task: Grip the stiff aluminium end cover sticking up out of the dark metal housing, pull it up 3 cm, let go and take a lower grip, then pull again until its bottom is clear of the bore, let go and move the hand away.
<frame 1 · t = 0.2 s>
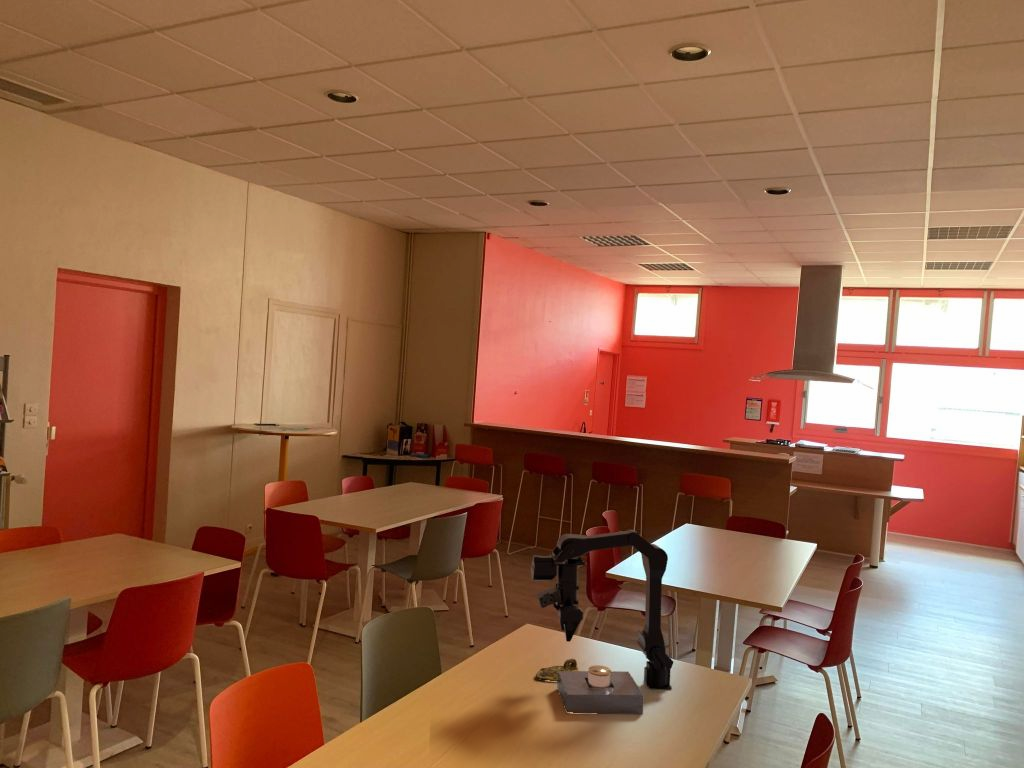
hand: (565, 635, 212), 14 cm above the table, tool pointing down, fingers open, 9 cm apart
housing: (598, 701, 202), on the table
end cover: (599, 684, 202), point 4 cm above the table, slide at 0.0 cm
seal: (557, 677, 219), on the table
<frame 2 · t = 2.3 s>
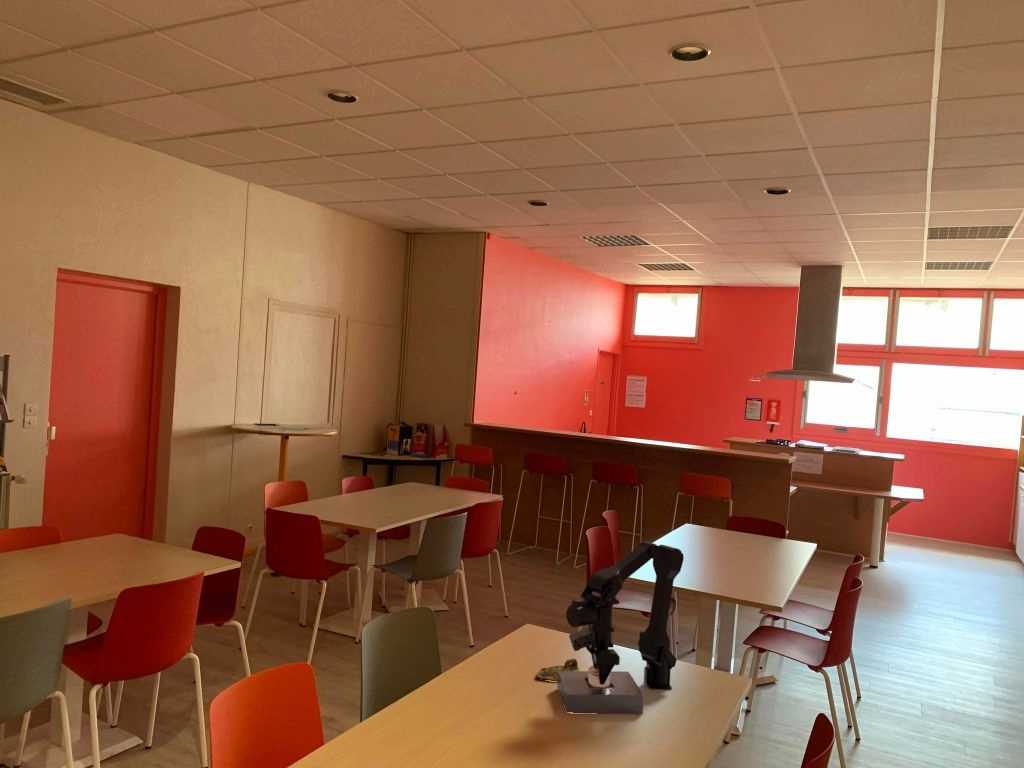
hand: (599, 679, 202), 6 cm above the table, tool pointing down, fingers closed on end cover, 6 cm apart
end cover: (599, 684, 202), point 4 cm above the table, slide at 0.0 cm, touching gripper
everything else where it was.
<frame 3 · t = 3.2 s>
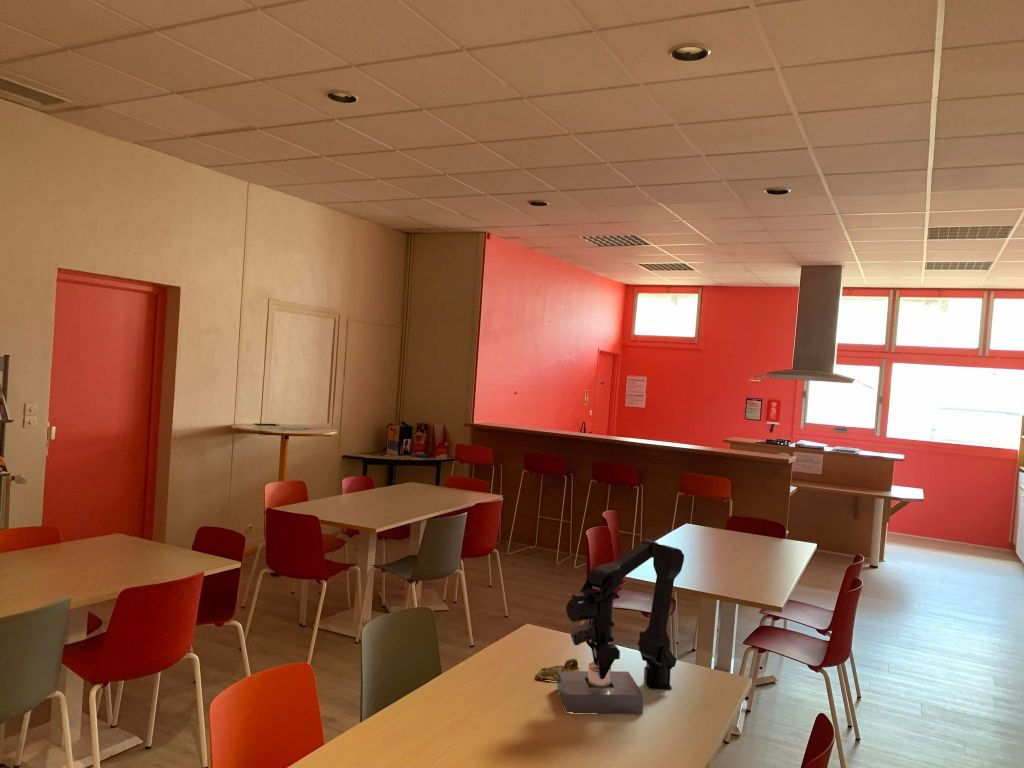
hand: (599, 674, 202), 7 cm above the table, tool pointing down, fingers closed on end cover, 6 cm apart
end cover: (599, 680, 202), point 5 cm above the table, slide at 1.1 cm, touching gripper
everything else where it was.
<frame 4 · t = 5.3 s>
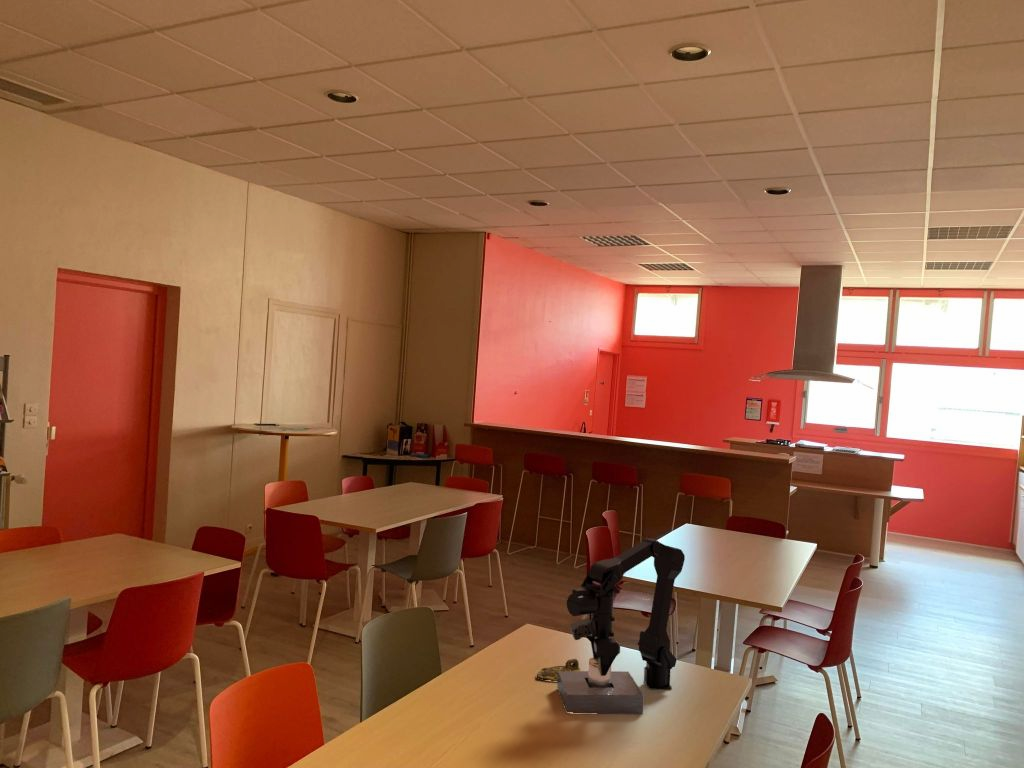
hand: (599, 668, 202), 9 cm above the table, tool pointing down, fingers open, 9 cm apart
end cover: (599, 676, 202), point 7 cm above the table, slide at 2.3 cm
everything else where it was.
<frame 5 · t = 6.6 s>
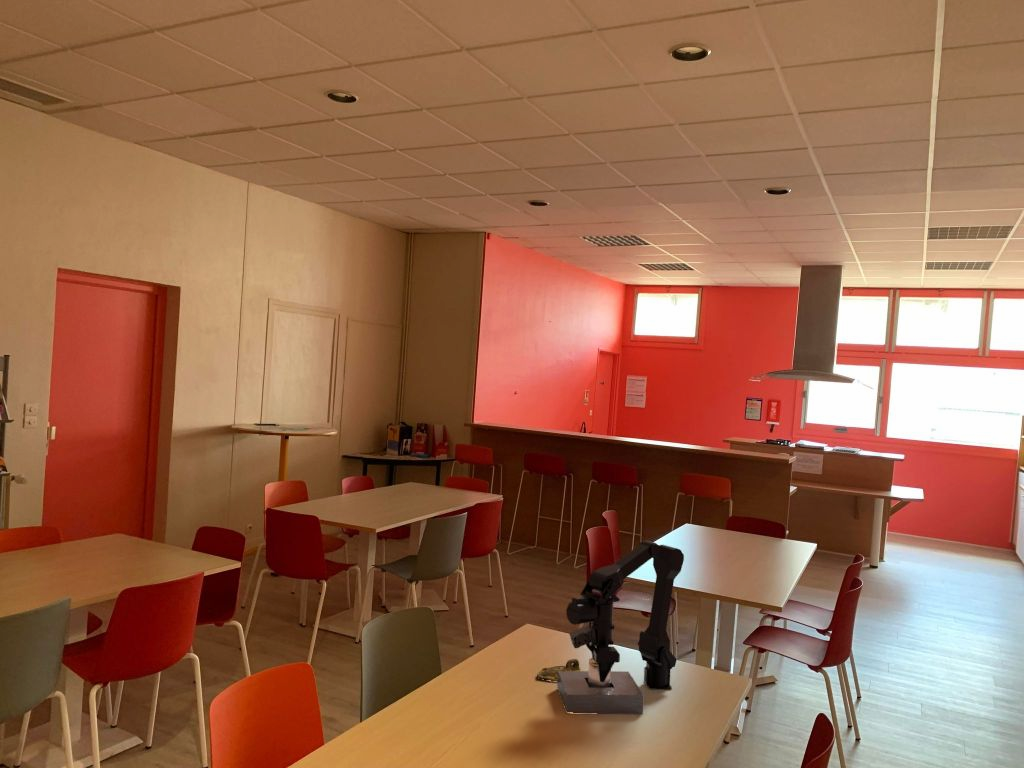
hand: (599, 677, 202), 6 cm above the table, tool pointing down, fingers closed on end cover, 6 cm apart
end cover: (599, 676, 202), point 7 cm above the table, slide at 2.3 cm, touching gripper
everything else where it was.
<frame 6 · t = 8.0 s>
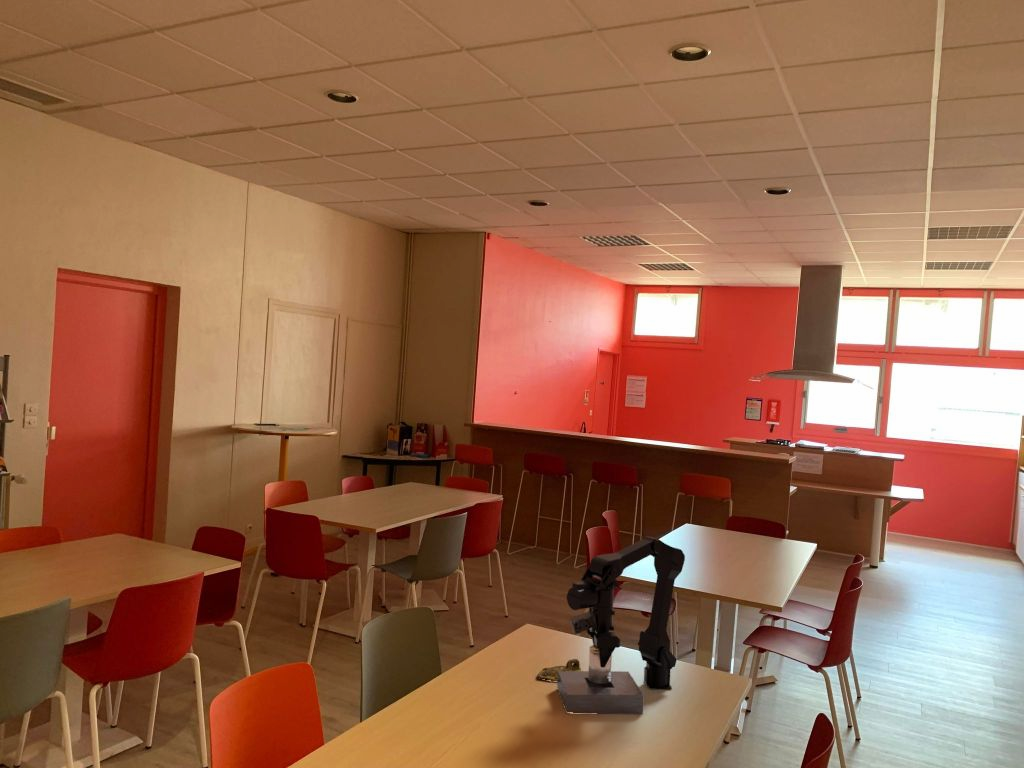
hand: (600, 662, 202), 10 cm above the table, tool pointing down, fingers closed on end cover, 6 cm apart
end cover: (600, 663, 202), point 10 cm above the table, slide at 5.6 cm, touching gripper
everything else where it was.
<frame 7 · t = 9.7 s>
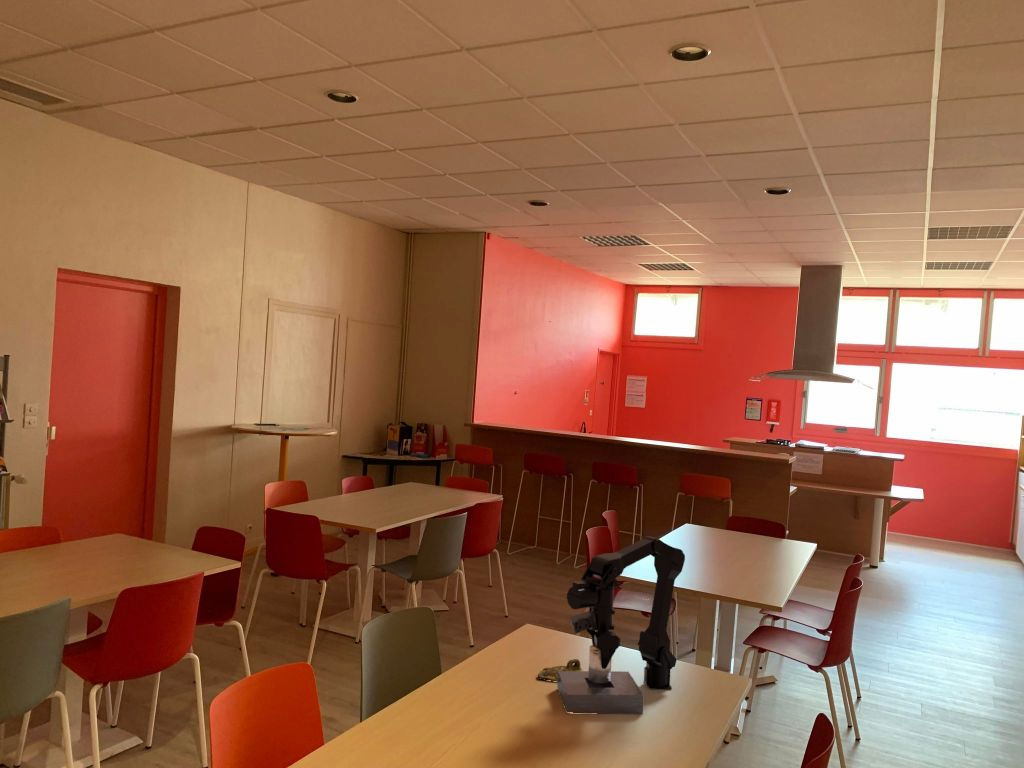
hand: (600, 662, 202), 10 cm above the table, tool pointing down, fingers open, 9 cm apart
end cover: (600, 663, 202), point 10 cm above the table, slide at 5.8 cm
everything else where it was.
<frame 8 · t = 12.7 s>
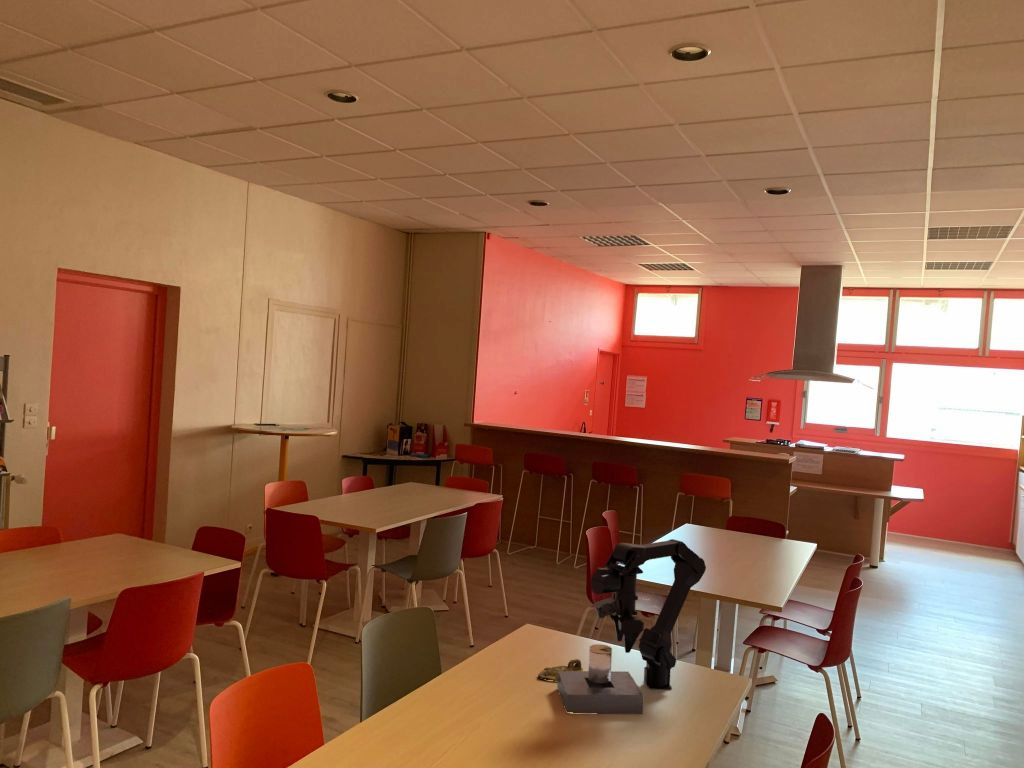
hand: (623, 646, 208), 13 cm above the table, tool pointing down, fingers open, 9 cm apart
at the end: end cover slide at 5.8 cm; the gripper is holding nothing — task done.
